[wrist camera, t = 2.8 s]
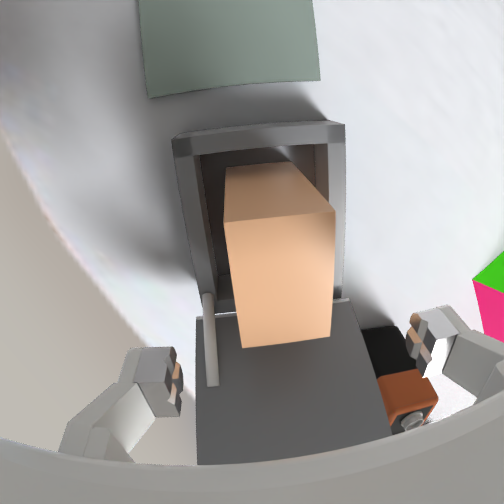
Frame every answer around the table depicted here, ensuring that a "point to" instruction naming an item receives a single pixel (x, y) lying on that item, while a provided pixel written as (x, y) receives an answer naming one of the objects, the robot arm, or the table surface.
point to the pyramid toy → (491, 298)
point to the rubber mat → (226, 43)
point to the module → (279, 253)
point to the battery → (399, 379)
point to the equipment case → (278, 355)
